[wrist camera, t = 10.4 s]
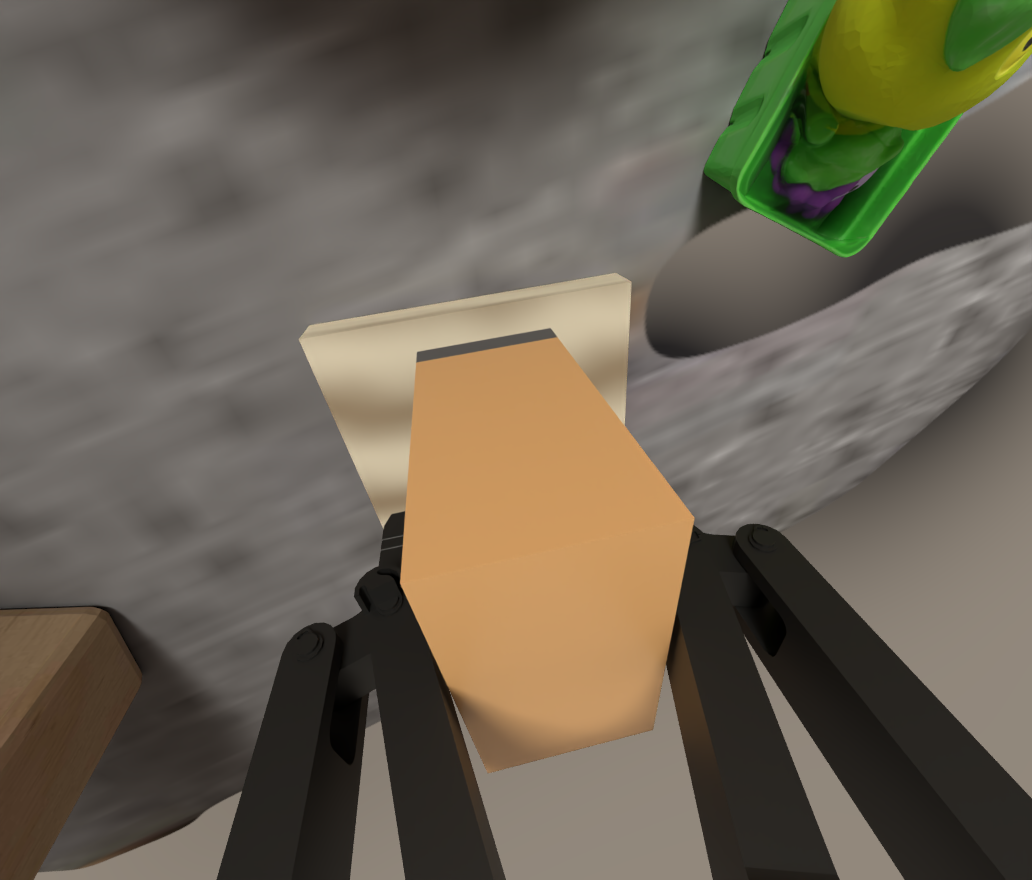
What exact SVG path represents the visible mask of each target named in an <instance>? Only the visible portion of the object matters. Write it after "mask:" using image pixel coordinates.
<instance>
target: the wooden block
mask: <svg viewBox="0 0 1032 880" xmlns="http://www.w3.org/2000/svg"><path fill="white" fill-rule="evenodd" d="M141 682H142V673H141V671H140V669H139V667H138V665H137V663H136V662H135V660H134V658H133V656H132V654H131V653H130V651H129V649H128V647H127V645H126V644H125V642H124V640H123V638H122V636H121V635H120V633H119V631H118V629H117V627H116V626H115V624H114V622H113V620H112V618H111V617H110V615H109V613H108V612H106V611H104V610H102V609H99V608H95V607H70V608H42V609H13V610H0V880H34V878H35V876H36V874H37V873H38V871H39V869H40V867H41V865H42V864H43V862H44V860H45V858H46V856H47V855H48V853H49V851H50V849H51V847H52V845H53V844H54V842H55V840H56V838H57V836H58V835H59V833H60V831H61V829H62V827H63V826H64V824H65V822H66V820H67V818H68V816H69V815H70V813H71V811H72V809H73V807H74V806H75V804H76V802H77V800H78V798H79V797H80V795H81V793H82V791H83V789H84V788H85V786H86V784H87V782H88V780H89V778H90V777H91V775H92V773H93V771H94V769H95V768H96V766H97V764H98V762H99V760H100V759H101V757H102V755H103V753H104V751H105V749H106V748H107V746H108V744H109V742H110V740H111V739H112V737H113V735H114V733H115V731H116V730H117V728H118V726H119V724H120V722H121V721H122V719H123V717H124V715H125V713H126V711H127V710H128V708H129V706H130V704H131V702H132V701H133V699H134V697H135V695H136V693H137V692H138V690H139V688H140V685H141Z"/></svg>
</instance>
